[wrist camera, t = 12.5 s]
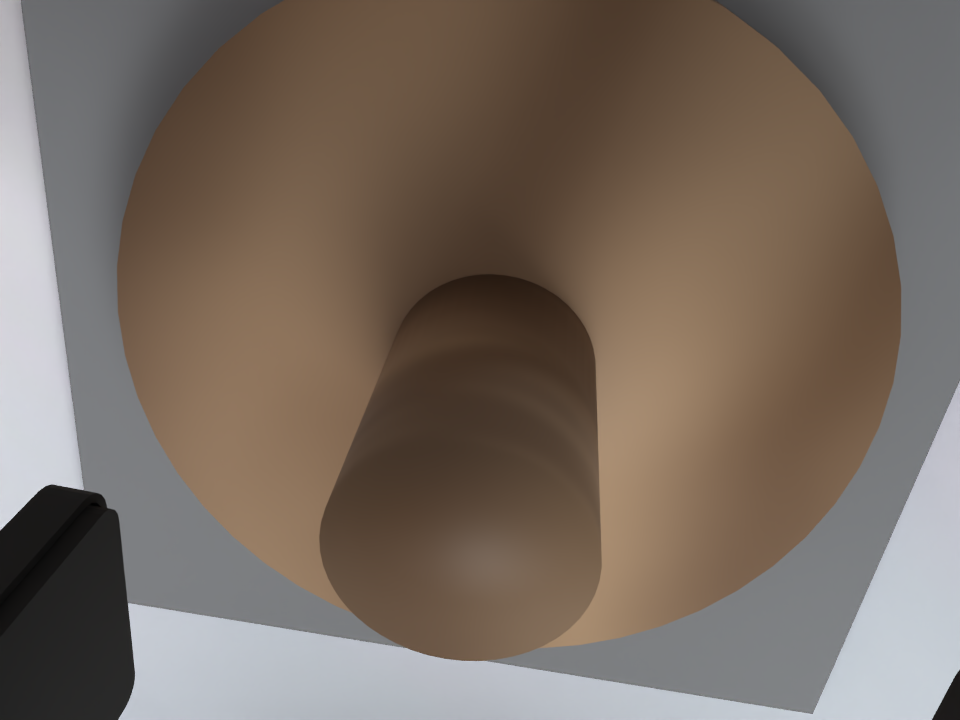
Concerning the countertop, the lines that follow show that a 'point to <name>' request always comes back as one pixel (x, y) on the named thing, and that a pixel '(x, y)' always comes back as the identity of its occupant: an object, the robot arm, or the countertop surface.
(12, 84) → the countertop surface
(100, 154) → the mat
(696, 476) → the lid
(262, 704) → the countertop surface
